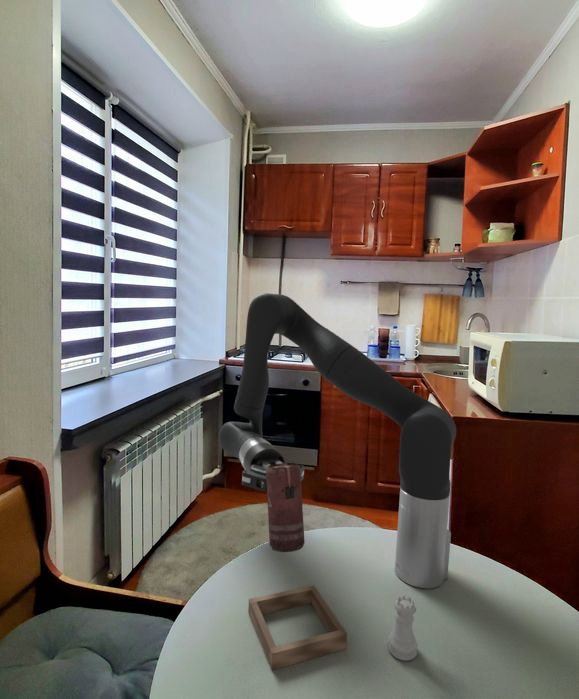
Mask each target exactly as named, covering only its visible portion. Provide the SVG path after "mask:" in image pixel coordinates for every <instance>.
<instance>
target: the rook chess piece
mask: <svg viewBox="0 0 579 699" xmlns="http://www.w3.org/2000/svg"><path fill="white" fill-rule="evenodd" d="M393 606H394V607H393V608H394V609H395V610H396V611H395V612H394V616H395V623H394V628H393V629H391V632H390V633H389V634H388V638H387V644H386V645H387V649H388V651H389V652H390V653H391V655H392V656H393V657H394V658H396V659H397V660H400V661H402V662H403V661H404V662H409V661H411V660H413V659H415V658H416V656H417V655H418V643H417V639H416V638H415V635H414V629H413V622H414V620H415V617H414V614H415V613H417V608H416V607H417V606H416V605H415V601H414V600H412V598H411V597H409V596H408V597H407V598H406V596H405V595H401V597H400V596H397V597H396V601H395V602H394V604H393Z"/></svg>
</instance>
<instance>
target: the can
mask: <svg viewBox="0 0 579 699" xmlns="http://www.w3.org/2000/svg"><path fill="white" fill-rule="evenodd" d="M298 465H299V464H297V463H288V464H275V465H270V466H268V469H267V471H266V479H267V492H266V495H267V496H266V498H267V514H268V515H267V517H268V539H269V546H270V548H271V549H272V550H273V551H274V552H277V553H290V552H291V553H292V552H296V551H299V550H301V549H302V548H303V547H304V544H305V543H306V542H305V541H306V540H305V527H304V513H303V508H304V507H303V495H302V492H303V491H302V481H301V474H300V468H299V466H298ZM291 486H294V489H295V488H296V489H295V491H294V498H290V499H287V500H286V492H285V487H291ZM282 489H284V491H283V493H282Z"/></svg>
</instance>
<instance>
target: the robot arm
mask: <svg viewBox="0 0 579 699" xmlns="http://www.w3.org/2000/svg"><path fill="white" fill-rule="evenodd" d="M245 331H246V332H245V342H244V351H243V352H244V353H243V354H244V355H243V363H242V364H243V365H242V371H241V375H240V379H239V380H240V381H239V383H238V384H239V385H238V388H237V393H236V396H235V400H234V405H233V410H234V413H236V414H237V415H238V416H240V417H242V418H245V419H247V420H249V423H248V422H241V421H228V422H225V423H224V424H223V425H222V426H221V428H220V430H219V433H218V442H219V445H220V447H221V448H222V450H223V451H225V453H227V454H229V455H231V456H232V457H235V458H237V459H238V460H239V461H240V463H241V467H243V469H244V470H243V471H242V474H241V475H242V478H241V485H242V486H244V487H248V488H250V489H253V490H257V491H260V492H264V493H267V479H266V471H267V469H268V466H270V465H275V464H289V463H287V462H286V461H285V458H284V457H283V455H282V453H281V452H280V451H279V450H277V448H275V446H274V445H273V444H271V443H270V442H269V441H267V440H266V439H265V438H263V437H264V436H263V415H264V414H263V412H264V408H265V404H266V399H267V395H268V391H269V387H270V375H269V366H268V365H269V364H268V362H269V361H268V357H269V351H270V347H271V344H272V341H273V339H274V336H275V335H281V336H283V337H285V338H286V339H288V340H289V341H291V342H292V343H294V344H295V345H297V347H299V348H300V349H301V350H302V351H303V352H304V353H305V354H306V355H307V357H308V359H309V360H310V362H311V364H312V365H313V366H314V368H315V370H316V371H317V372H318V373H319V374H320V375H321V376H322V378H323V379H325V381H327V382H328V383H330V384H331V385H333V386H334V387H335V388H336V389H338V390H339V391H340V392H342V393H343V394H344V395H346V396H348V397H350V398H352V399H353V400H355V401H358V402H360V403H362V404H365V405H367V406H369V407H371V408H373V409H375V410H377V411H379V412H381V413H383V414H384V415H386V416H387V417H388V418H390V419H391V420H392V421H394V422H395V423H396V424H397V425H398V426H399V427H401V431H400V438H399V456H398V457H399V459H398V464H399V465H398V473H399V477H400V483H399V484H400V490H399V502H398V505H399V506H398V515H397V516H398V519H397V532H396V548H395V549H396V550H395V561H394V562H395V563H394V572H395V574H396V575H397V577H398V578H399V579H400V580H401V581H403V582H405V583H406V584H408V585H410V586H413V587H416V588H421V589H435V588H438V587H439V586H442V584H443V582H444V580H447V579H448V577H449V576H448V575H449V564H450V553H451V551H450V550H451V538H452V532H451V531H450V530H449V529H448V524H449V523H448V522H449V512H450V497H451V486H452V483H451V479H450V470H451V459H452V458H451V457H452V446H453V444H454V442H455V440H456V437H457V427H456V423H455V421H454V419H453V417H452V416H451V415H450V413H448V412H447V410H444V409H443V408H441V407H440V406H438V405H437V404H434V403H433V402H431V401H429V400H428V399H425V397H423V396H421V395H420V394H417V393H416V392H414V391H413V390H412V389H410V388H408V387H406V386H405V385H403V384H402V383H401V382H399V381H398V380H397V379H396V378H395V377H393V375H392V374H390V373H389V372H388V371H386V370H385V369H384V368H382V366H380V365H379V364H377V363H376V362H375V361H373V359H371V358H370V357H368V356H367V355H366V354H364V353H363V352H362V351H360V350H359V349H358V348H356V347H355V346H353V345H352V344H351V343H349V342H348V341H347V340H344V338H342V337H340V336H339V335H337V334H336V333H335V332H333V331H331V330H330V329H328V328H326V327H325V326H323V325H322V324H321V323H319V322H318V321H317V320H315V319H314V318H313V317H312V316H311V315H310V314H309V313H308V312H306V311H305V310H304V309H303V307H301V306H300V305H299V304H298V303H297V302H295V300H293V299H292V298H290V297H289V296H287V295H284V294H280V293H278V294H277V293H269V292H267V293H261V294H258V295H256V296H255V297H254V298H253V299H252V300H251V302H250V303H249V306H248V311H247V317H246V329H245ZM298 466H299V468H300V474H301V482H303V480H304V477H305V466H304V465H303V464H298ZM295 489H296V488H295ZM295 489H294V486H291V487H285V492H286V500H287V499H290V498H294V491H295ZM283 491H284V489H282V493H283Z"/></svg>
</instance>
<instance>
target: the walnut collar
mask: <svg viewBox="0 0 579 699" xmlns="http://www.w3.org/2000/svg"><path fill="white" fill-rule="evenodd" d="M309 604H310V605H311V606H312V608H313V610H314V611H315V612H316V615H317V616H318V617H319V619H320V621H321V623H322V624H323V626H324V627H325V629H326V630H327V633H326V632H325V633H323V634H318V635H315V636H313V637H308V638H304V639H301V640H296V641H293V642H289V643H285V644H282V645H278V646H277V645H276V643H275V641H274V638H273V636H272V634H271V632H270V629H269V627H268V625H267V623H266V620H265V619H264V615H265V614H270V613H275V612H279V611H283V610H287V609H292V608H295V607H300V606H305V605H309ZM248 613H249V614H248ZM247 614H248V617H249V618H251V619H250V620H251V621H250V622H251V623H253V624H252V626H253V629H254V628H255V629H254V630H255V633H256V635H257V638H258V640H259V643H260V646H261V648H262V650H263V654H264V656H265V658H266V661H267V663H268V665H269V668H270V670H271V671H273V670H278V669H281V668H283V667H288V666H291V665H294V664H299V663H302V662H305V661H308V660H312V659H315V658H319V657H323V656H326V655H330V654H334V653H336V652H340V651H344V650H347V637H348V632H346V631H347V630H345V628H344V626H342V624H341V623H340V621H339V619H338V618H337V617H336V615H335V614H334V613H333V611H332V609H331V608H330V607H329V604H328V603H327V602H326V600H325V599H324V598H323V596H322V595H321V593H320V591H318V589H317V588H316V585H314V584H312V585H308V586H304V587H299V588H295V589H289V590H284V591H280V592H276V593H271V594H267V595H266V594H265V595H262V596H257V597H253V598H248V609H247Z"/></svg>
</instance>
